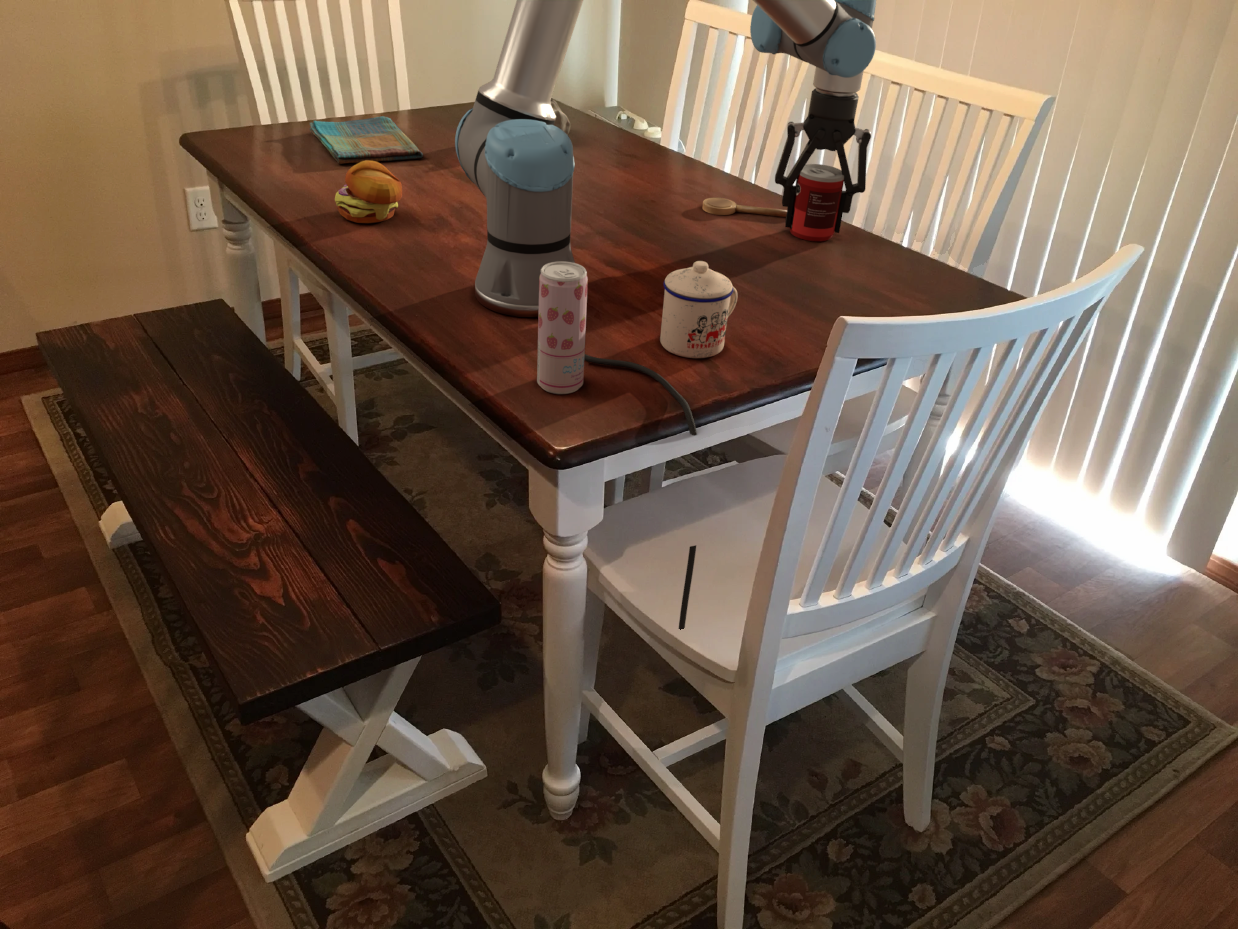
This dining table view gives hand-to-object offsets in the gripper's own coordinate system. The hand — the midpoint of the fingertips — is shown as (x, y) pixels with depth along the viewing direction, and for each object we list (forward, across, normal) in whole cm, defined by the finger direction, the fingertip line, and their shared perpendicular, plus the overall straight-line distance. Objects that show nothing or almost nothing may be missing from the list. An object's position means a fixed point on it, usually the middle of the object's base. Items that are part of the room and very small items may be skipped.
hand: (812, 227), depth 172 cm
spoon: (+1, +11, -8) cm, 13 cm away
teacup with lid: (+1, +16, +47) cm, 50 cm away
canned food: (+1, 0, 0) cm, 1 cm away
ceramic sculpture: (+1, +56, -42) cm, 70 cm away
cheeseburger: (+1, +74, +15) cm, 75 cm away
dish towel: (+1, +89, -23) cm, 91 cm away
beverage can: (+1, +32, +63) cm, 71 cm away
